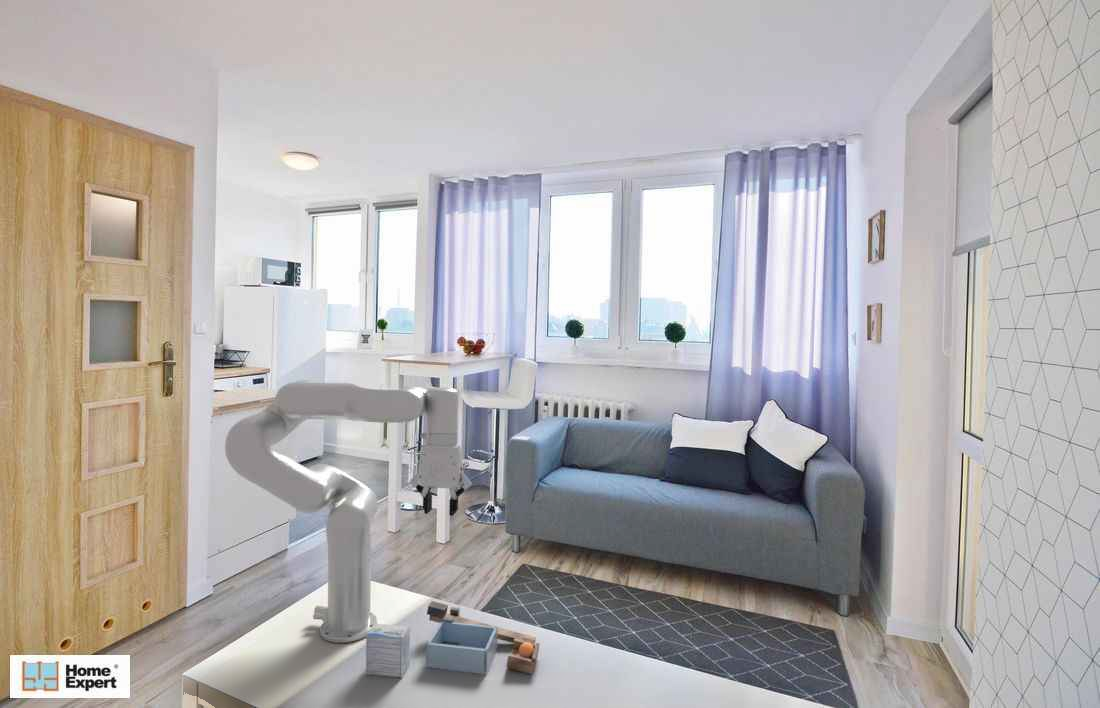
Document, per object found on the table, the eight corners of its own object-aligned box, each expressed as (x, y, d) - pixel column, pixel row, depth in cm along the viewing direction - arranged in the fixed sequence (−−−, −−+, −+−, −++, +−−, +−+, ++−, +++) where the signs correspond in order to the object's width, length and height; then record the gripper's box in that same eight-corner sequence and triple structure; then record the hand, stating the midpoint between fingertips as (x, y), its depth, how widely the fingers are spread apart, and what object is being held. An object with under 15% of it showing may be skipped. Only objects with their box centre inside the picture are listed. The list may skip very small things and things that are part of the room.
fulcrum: (433, 644, 119) (434, 620, 119) (444, 627, 126) (444, 604, 126) (459, 647, 118) (459, 623, 118) (468, 630, 125) (468, 607, 125)
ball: (515, 658, 111) (521, 645, 111) (518, 649, 114) (524, 636, 114) (528, 665, 111) (534, 652, 111) (531, 656, 114) (537, 643, 114)
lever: (410, 641, 113) (412, 626, 113) (429, 613, 124) (432, 600, 124) (532, 675, 109) (535, 660, 109) (541, 644, 120) (543, 630, 120)
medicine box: (410, 665, 112) (410, 625, 111) (402, 679, 107) (402, 637, 107) (374, 662, 112) (375, 622, 112) (365, 675, 108) (365, 634, 108)
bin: (426, 667, 111) (426, 644, 111) (441, 642, 120) (441, 621, 120) (486, 674, 109) (487, 650, 109) (497, 648, 118) (497, 626, 118)
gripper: (401, 440, 124) (400, 515, 125) (471, 443, 122) (470, 521, 122) (414, 434, 131) (412, 505, 132) (480, 437, 129) (479, 510, 130)
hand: (440, 512), depth 127 cm, fingers open, 5 cm apart
